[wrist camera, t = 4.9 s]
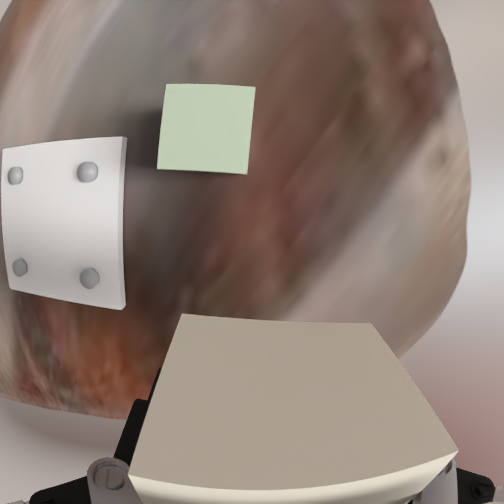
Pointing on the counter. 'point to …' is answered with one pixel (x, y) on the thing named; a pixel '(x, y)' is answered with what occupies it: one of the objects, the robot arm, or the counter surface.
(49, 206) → the plate
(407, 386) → the cream block
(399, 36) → the counter surface
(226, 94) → the sage block
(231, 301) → the counter surface
